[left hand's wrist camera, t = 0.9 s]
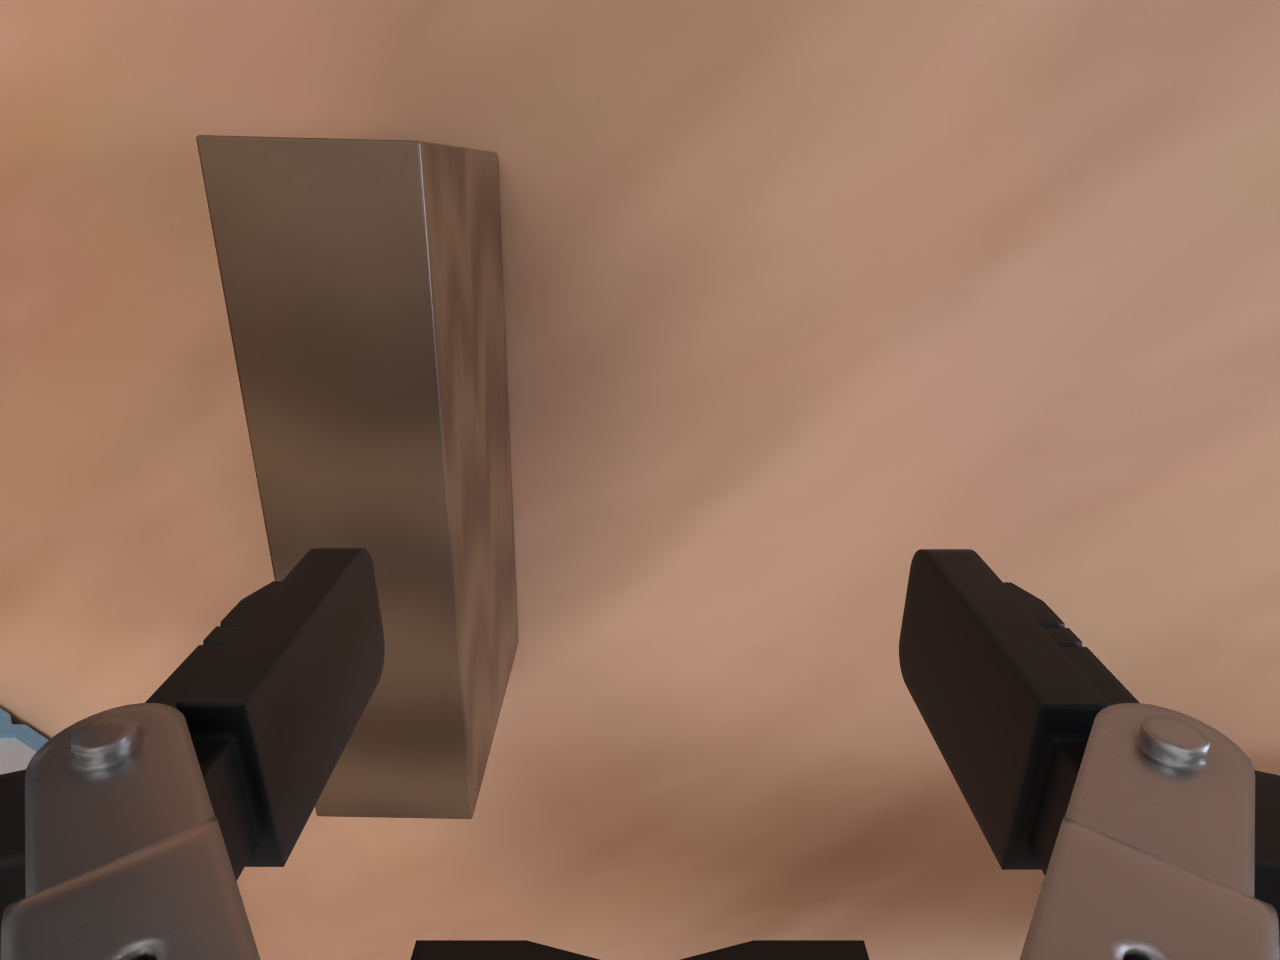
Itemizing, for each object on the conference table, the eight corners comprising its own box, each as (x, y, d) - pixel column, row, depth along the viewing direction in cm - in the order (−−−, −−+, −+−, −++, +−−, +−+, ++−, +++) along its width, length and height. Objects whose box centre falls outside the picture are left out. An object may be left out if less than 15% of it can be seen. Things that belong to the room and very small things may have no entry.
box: (352, 149, 31) (194, 134, 20) (497, 152, 32) (420, 141, 20) (405, 640, 41) (316, 817, 29) (518, 642, 41) (472, 819, 29)
